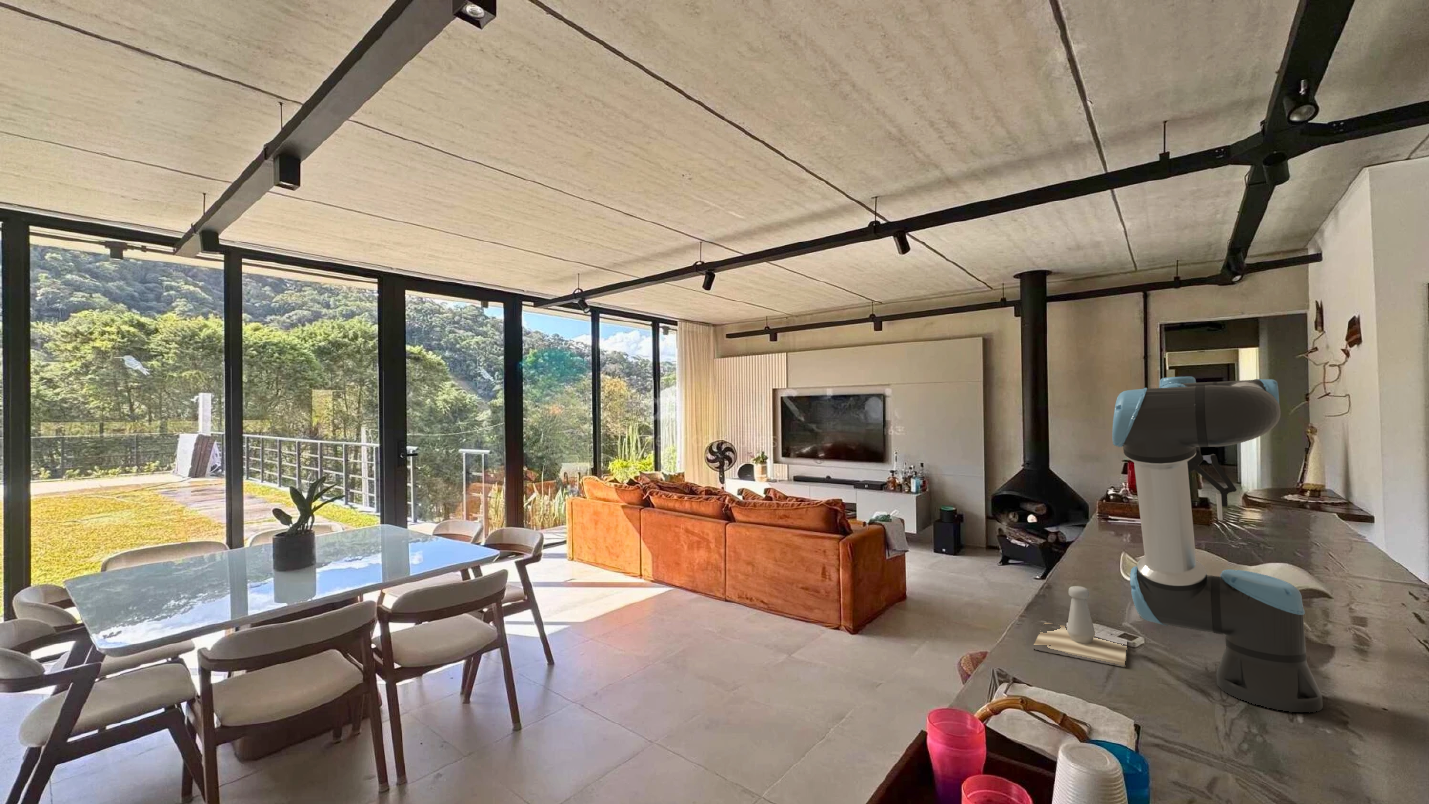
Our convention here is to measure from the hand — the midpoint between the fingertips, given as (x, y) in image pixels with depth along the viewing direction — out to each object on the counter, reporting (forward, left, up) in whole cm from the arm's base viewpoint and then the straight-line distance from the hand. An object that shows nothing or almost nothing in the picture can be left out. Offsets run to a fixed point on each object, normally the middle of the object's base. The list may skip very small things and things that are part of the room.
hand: (1185, 517), depth 148 cm
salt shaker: (-27, +22, -28) cm, 44 cm away
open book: (-27, +22, -29) cm, 45 cm away
